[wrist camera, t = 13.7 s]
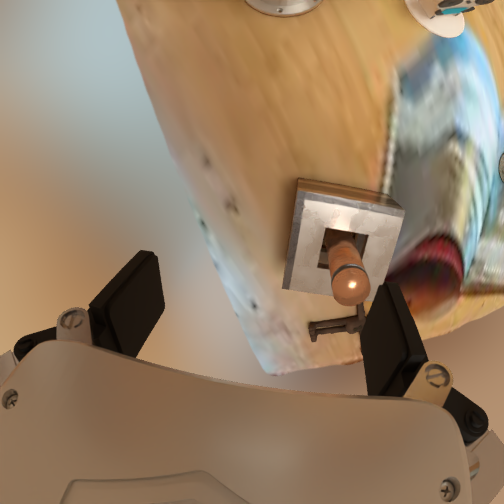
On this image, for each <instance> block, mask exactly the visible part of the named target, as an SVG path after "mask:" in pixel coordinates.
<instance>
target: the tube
mask: <svg viewBox="0 0 504 504" xmlns="http://www.w3.org/2000/svg"><path fill="white" fill-rule="evenodd" d="M324 238H325V244H326V250H327V256H328V262H329V269H330V276H331V287H332V291H333V296H334V298H335V300H336V301H337V302H338V303H340V304H342V305H344V306H355V305H358V304H360V303H362V302H363V301H365V300H366V298H367V297H368V296H369V294H370V290H371V286H370V282H369V278H368V275H367V272H366V271H365V268H364V265H363V262H362V260H361V257H360V254H359V252H358V249H357V247H356V244H355V241H354V239H353V236H352V234H351V232H350V231H344V230H338V229H332V228H326V227H325V232H324Z"/></svg>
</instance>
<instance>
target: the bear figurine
mask: <svg viewBox="0 0 504 504" xmlns="http://www.w3.org/2000/svg"><path fill="white" fill-rule="evenodd" d="M364 315H365V311H364V306H363V302H362V303H360V304H358V316H355V317H349V318H347V319H340V320H329V321H321V322H310V325H309V328H308V329H309V333H310V337H311V341H312V342H316V340H317V335H318V334H327V333H331V334H333V333H337V332H346V331H347V332H348V333H350V334H354V333H356V332H358V331H359V332H360V335H361V331H362V329H363V326H364V324H365V321H366V317H365V316H364ZM344 324H345V326H344V327H334V328H324V329H316V328H317V327H325V326H326V327H329V326H334V325H344ZM361 353H362V351H361ZM362 355H363V354H362Z"/></svg>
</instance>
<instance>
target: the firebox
mask: <svg viewBox="0 0 504 504" xmlns="http://www.w3.org/2000/svg"><path fill="white" fill-rule="evenodd" d="M404 214H405V210H404V209H403V208H402V207H401V206H400V205H399V204H398V203H397V202H396V201H395V200H394V199H392V198H391V197H390V196H389V195H388V194H384V193H379V192H375V191H370V190H365V189H360V188H355V187H350V186H345V185H340V184H334V183H328V182H323V181H317V180H311V179H304V178H298V184H297V191H296V198H295V205H294V212H293V218H292V225H291V231H290V238H289V244H288V250H287V256H286V263H285V270H284V278H283V285H282V289H288V290H294V291H301V292H307V293H314V294H321V295H328V296H333V291H332V287H331V276H330V269H329V262H328V256H327V250H326V249H325V248H321V246H322V242H323V237H324V232H325V227H326V228H332V229H338V230H344V231H350V232H355V233H356V236H355V240H354V241H355V244H356V247H357V249H358V252H359V254H360V257H361V260H362V262H363V265H364V268H365V271H366V272H367V275H368V278H369V282H370V286H371V290H370V294H369V296H368V297H367V298H366V300H365V301H372V302H373V300H374V297H375V295H376V292H377V289H378V286H379V285H382V284H383V282H384V279H385V276H386V273H387V270H388V267H389V264H390V261H391V258H392V255H393V252H394V249H395V246H396V242H397V239H398V236H399V232H400V229H401V225H402V221H403V218H404Z"/></svg>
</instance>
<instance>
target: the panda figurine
mask: <svg viewBox="0 0 504 504" xmlns="http://www.w3.org/2000/svg"><path fill="white" fill-rule="evenodd" d="M404 1H405V4H406V6H407V8H408V10H409V12H410V13H411V15H412V16H413V17H414V18H415V19H416V21H417V22H418V23H419V24H421V25H422V26H423V27H424V28H426V29H427V30H428V31H430V32H432V33H433V34H436V35H438V36H441V37H444V38H454V37H457V36H459V35H460V34H461V33H462V32H463V29H464V17H463V14H462V13H464V12H469V11H472V10H474V9H475V8H474V7H473V6H477V5H483V4H488V3H491V2H493V1H494V0H404Z"/></svg>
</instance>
